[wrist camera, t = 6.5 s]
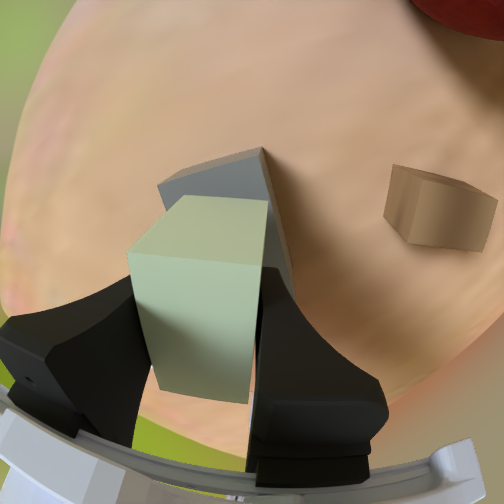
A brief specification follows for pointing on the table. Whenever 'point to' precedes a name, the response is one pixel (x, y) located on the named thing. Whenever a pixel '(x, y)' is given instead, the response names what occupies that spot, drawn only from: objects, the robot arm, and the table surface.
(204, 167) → the charcoal brick
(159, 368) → the sage brick
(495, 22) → the apple
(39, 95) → the table surface
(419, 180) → the walnut brick
